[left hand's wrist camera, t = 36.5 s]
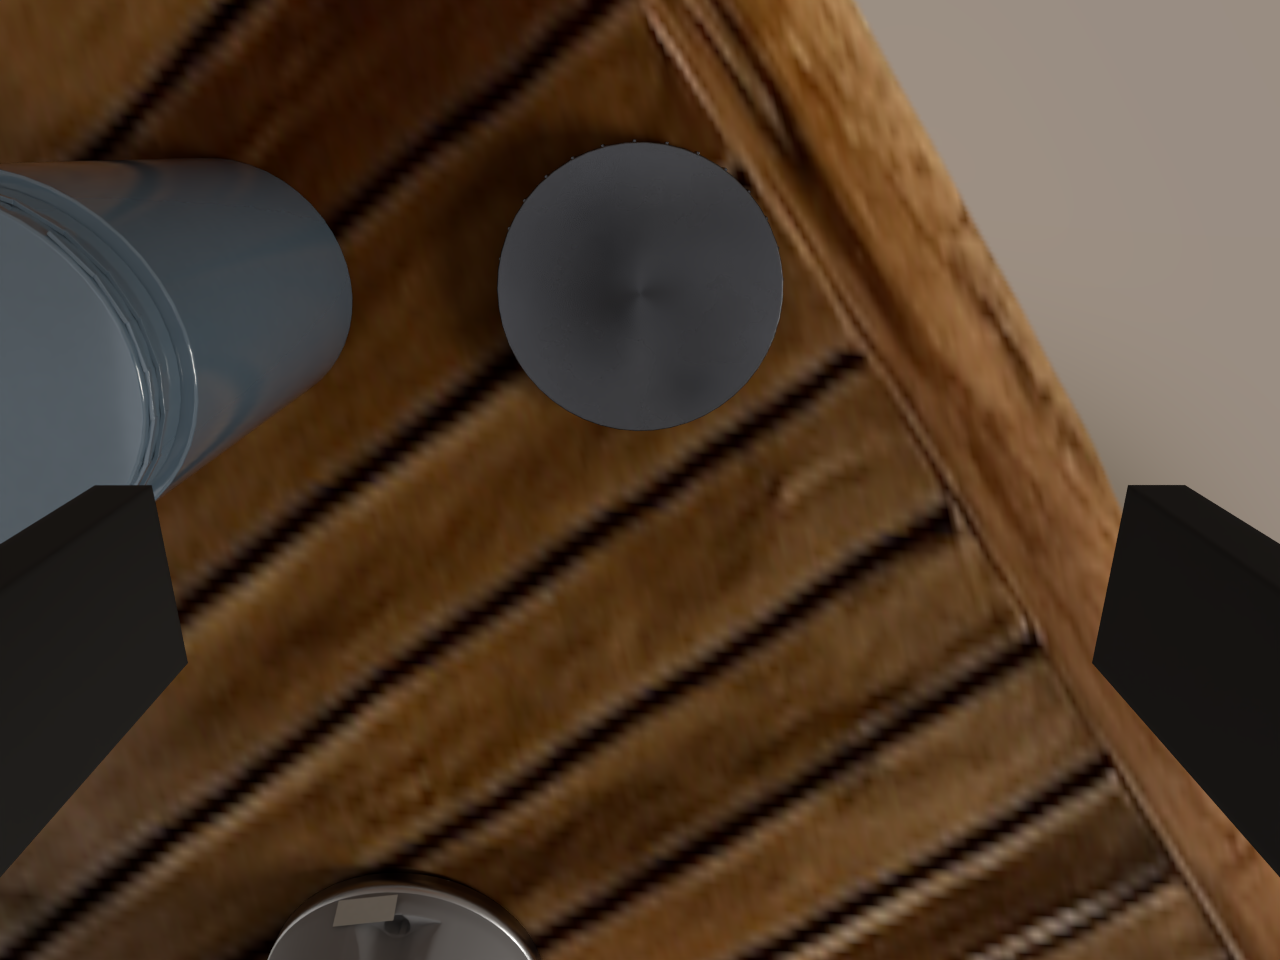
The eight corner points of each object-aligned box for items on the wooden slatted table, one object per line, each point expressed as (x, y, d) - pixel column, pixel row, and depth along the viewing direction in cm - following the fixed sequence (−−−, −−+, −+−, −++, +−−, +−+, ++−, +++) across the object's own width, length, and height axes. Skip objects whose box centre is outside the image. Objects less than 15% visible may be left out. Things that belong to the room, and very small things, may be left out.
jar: (244, 453, 40) (3, 639, 25) (52, 276, 37) (-348, 365, 22) (403, 300, 38) (245, 403, 22) (211, 99, 35) (-115, 64, 20)
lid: (832, 241, 37) (843, 247, 35) (680, 464, 40) (682, 481, 38) (593, 80, 35) (590, 76, 33) (455, 329, 38) (444, 340, 36)
